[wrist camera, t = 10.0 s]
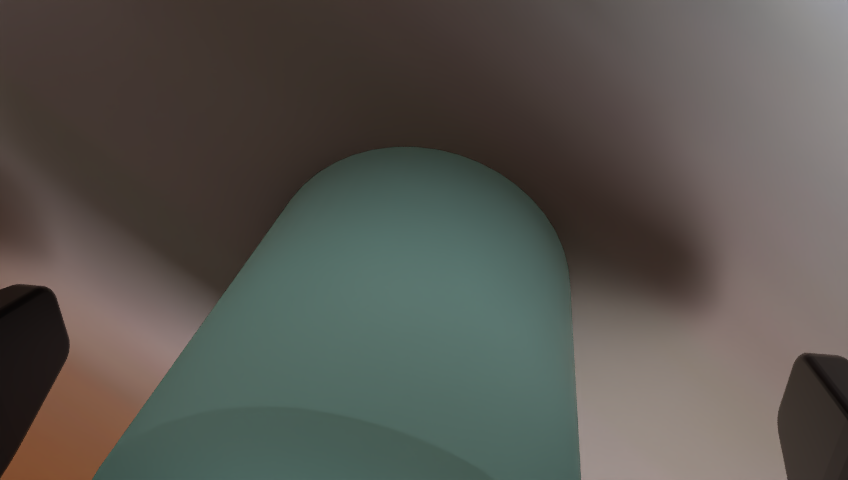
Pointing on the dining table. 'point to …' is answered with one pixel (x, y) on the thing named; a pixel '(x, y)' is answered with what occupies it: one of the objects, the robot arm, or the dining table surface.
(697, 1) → the dining table surface
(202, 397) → the bead
